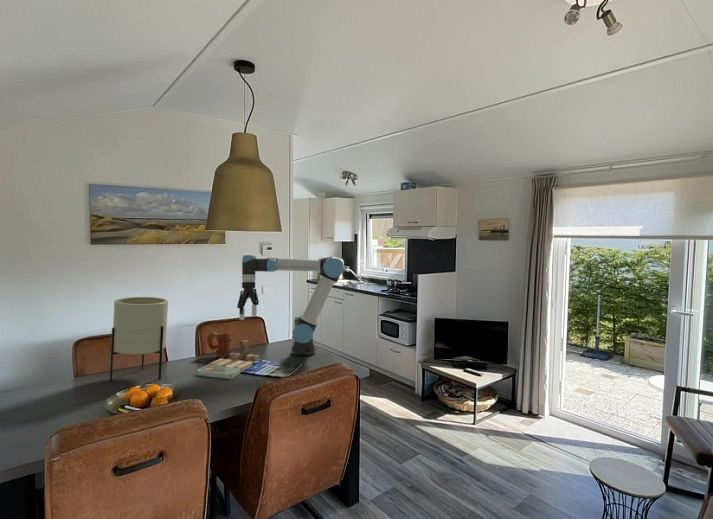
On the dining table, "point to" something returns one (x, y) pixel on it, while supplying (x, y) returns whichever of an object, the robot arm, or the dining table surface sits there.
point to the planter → (139, 327)
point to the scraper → (243, 353)
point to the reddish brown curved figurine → (220, 343)
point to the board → (232, 363)
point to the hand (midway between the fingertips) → (248, 317)
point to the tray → (218, 372)
